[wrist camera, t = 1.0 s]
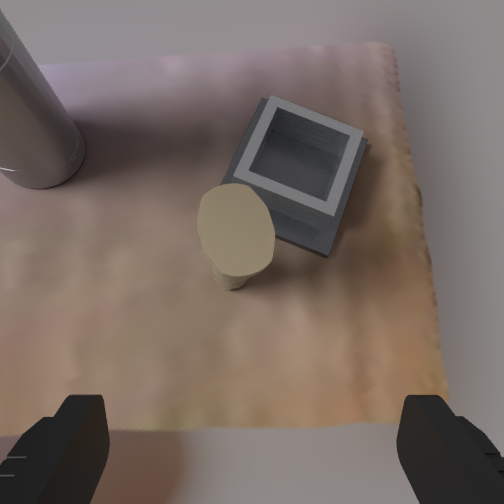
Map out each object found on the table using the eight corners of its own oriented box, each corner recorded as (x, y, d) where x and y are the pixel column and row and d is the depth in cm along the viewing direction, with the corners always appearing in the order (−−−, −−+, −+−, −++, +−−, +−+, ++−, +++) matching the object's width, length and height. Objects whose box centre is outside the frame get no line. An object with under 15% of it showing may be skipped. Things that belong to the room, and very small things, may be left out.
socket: (210, 211, 38) (208, 191, 34) (261, 103, 43) (266, 72, 38) (325, 258, 38) (340, 244, 33) (364, 144, 43) (383, 118, 38)
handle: (244, 243, 38) (258, 177, 23) (260, 299, 36) (286, 265, 22) (201, 253, 37) (188, 192, 23) (215, 311, 35) (212, 284, 21)
